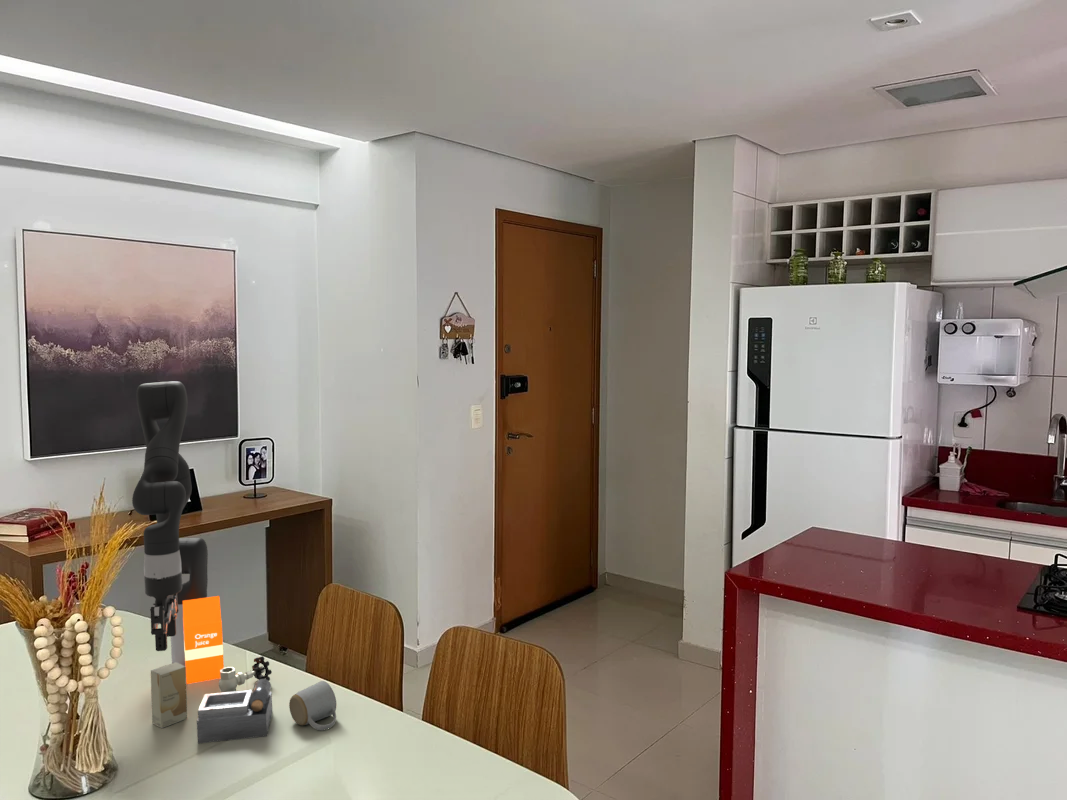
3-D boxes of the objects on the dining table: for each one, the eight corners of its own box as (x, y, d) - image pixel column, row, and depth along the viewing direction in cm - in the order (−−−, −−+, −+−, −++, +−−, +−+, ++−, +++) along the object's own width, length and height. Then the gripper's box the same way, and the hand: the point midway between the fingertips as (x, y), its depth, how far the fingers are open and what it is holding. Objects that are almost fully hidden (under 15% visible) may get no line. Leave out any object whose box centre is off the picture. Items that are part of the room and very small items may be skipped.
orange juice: (185, 672, 209) (181, 596, 207) (222, 666, 212) (218, 591, 210) (186, 684, 201) (182, 605, 200) (224, 677, 205) (221, 600, 203)
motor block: (207, 719, 184) (205, 682, 183) (272, 712, 186) (271, 676, 186) (197, 743, 173) (195, 704, 172) (266, 736, 176) (265, 697, 175)
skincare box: (161, 729, 179) (158, 675, 178) (151, 723, 182) (148, 670, 181) (189, 718, 184) (186, 665, 183) (178, 712, 187) (176, 660, 186)
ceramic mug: (287, 721, 182) (286, 688, 182) (318, 708, 188) (318, 676, 188) (314, 737, 175) (313, 703, 175) (346, 723, 181) (345, 690, 181)
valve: (229, 703, 191) (272, 685, 201) (228, 676, 191) (271, 659, 200) (212, 696, 195) (255, 678, 205) (211, 669, 195) (254, 653, 204)
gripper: (152, 563, 186) (156, 632, 187) (135, 582, 172) (139, 657, 174) (187, 561, 188) (190, 630, 189) (173, 579, 174) (177, 653, 175)
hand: (166, 643), depth 181 cm, fingers open, 8 cm apart
